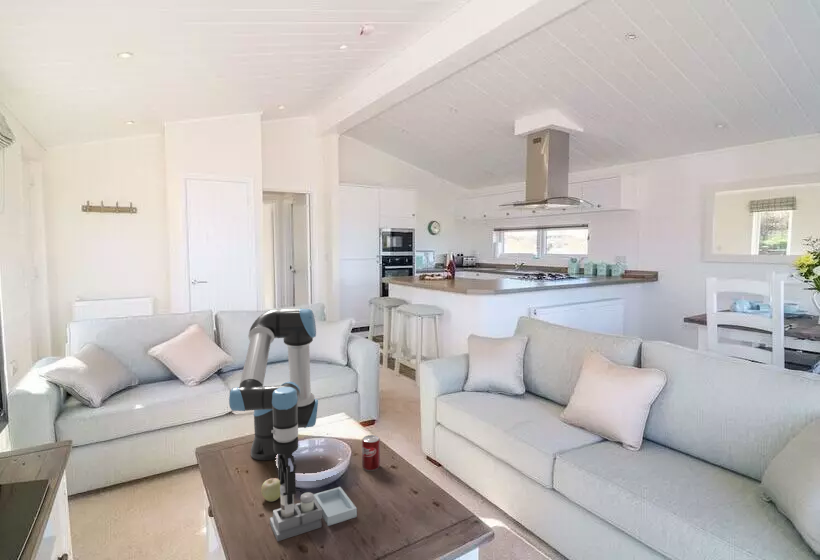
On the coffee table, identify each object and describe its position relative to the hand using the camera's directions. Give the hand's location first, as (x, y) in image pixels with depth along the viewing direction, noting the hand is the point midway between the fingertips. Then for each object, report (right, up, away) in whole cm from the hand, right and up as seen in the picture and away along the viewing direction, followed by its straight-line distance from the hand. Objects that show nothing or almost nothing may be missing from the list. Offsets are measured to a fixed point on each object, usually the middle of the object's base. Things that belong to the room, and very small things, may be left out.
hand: (287, 508), depth 144 cm
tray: (+13, -6, +10) cm, 18 cm away
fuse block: (+2, -6, +2) cm, 7 cm away
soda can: (+23, -3, +39) cm, 46 cm away
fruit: (-10, -5, +17) cm, 20 cm away
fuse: (0, -5, 0) cm, 5 cm away
